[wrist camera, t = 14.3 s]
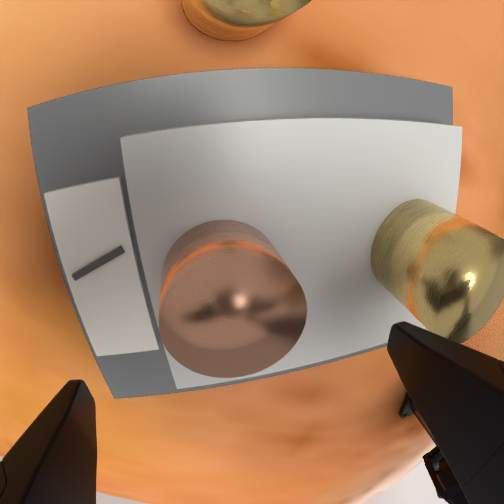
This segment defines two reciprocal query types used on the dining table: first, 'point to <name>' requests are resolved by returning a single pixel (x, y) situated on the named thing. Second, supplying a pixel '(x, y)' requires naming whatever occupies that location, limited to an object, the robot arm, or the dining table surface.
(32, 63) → the dining table surface
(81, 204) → the scale
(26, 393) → the dining table surface
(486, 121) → the dining table surface
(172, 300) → the brown short cylinder
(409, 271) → the brass short cylinder
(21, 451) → the robot arm
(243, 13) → the gold cylinder
